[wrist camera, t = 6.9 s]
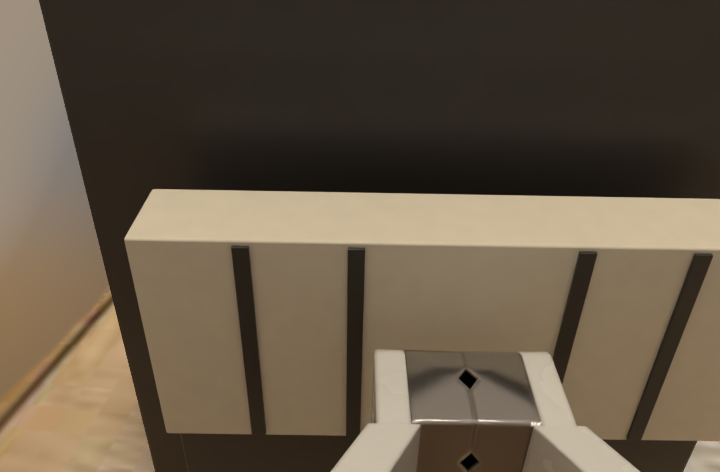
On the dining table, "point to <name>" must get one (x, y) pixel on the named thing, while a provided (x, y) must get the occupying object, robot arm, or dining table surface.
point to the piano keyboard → (426, 302)
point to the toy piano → (377, 128)
